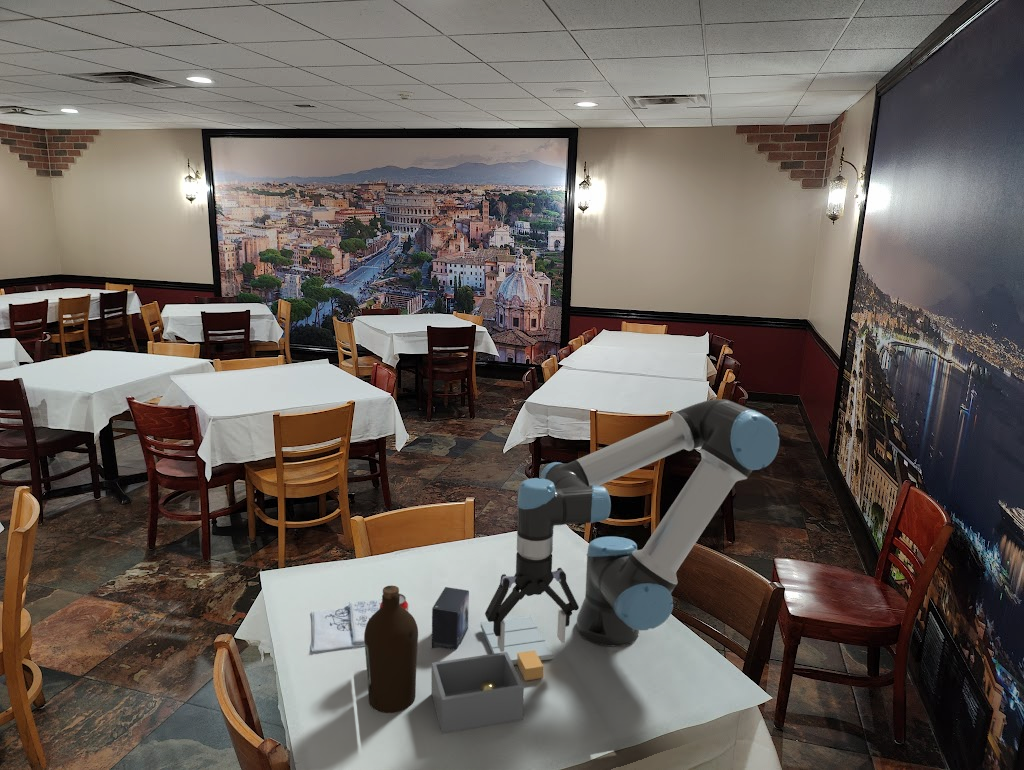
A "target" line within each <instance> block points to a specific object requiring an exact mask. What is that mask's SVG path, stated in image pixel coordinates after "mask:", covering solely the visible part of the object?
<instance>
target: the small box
mask: <svg viewBox="0 0 1024 770" xmlns="http://www.w3.org/2000/svg"><path fill="white" fill-rule="evenodd" d="M469 594H470V591H469V589H468V590H467V589H462V588H461V589H460V588H454V587H448V586H446V587H444V588H443V590H442V592H441V593H440V595H439V596H438V598H437V599H436V601H435V603H434V605H433V606H432V609H431V646H430V647H431V649H438V648H440V649H447V650H455V651H456V650H457V649H458V648H459V646H460V645H461V643H462V642H463V640H464V638H465V636H466V634H467V632H468V630H469V609H470V607H469V606H470V605H469V603H470V601H469V600H470V599H469V598H470V595H469Z"/></svg>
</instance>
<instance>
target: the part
mask: <svg viewBox="0 0 1024 770" xmlns="http://www.w3.org/2000/svg"><path fill="white" fill-rule="evenodd" d="M491 689H496V684H495V682H493V681H490V680H486V681H483V682H482V683H481V691H485V690H491Z"/></svg>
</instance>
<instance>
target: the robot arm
mask: <svg viewBox="0 0 1024 770" xmlns="http://www.w3.org/2000/svg"><path fill="white" fill-rule="evenodd" d="M779 447H780V437H779V430H778V428H777V426H776V424H775V423H774V422H773V420H772V419H770V418H769V417H768V416H766V415H764V414H762V413H761V412H760V411H757V410H755V409H751V408H749V407H746V406H743V405H741V404H739V403H737V402H735V401H732V400H730V399H723V398H715V399H707V400H704V401H702V402H698V403H695V404H692V405H690V406H687V407H684V408H682V409H680V410H677V411H675V412H673V413H671V415H670V418H669V419H667V420H664V421H663V422H661V423H658V424H656V425H654V426H652V427H648V428H647V429H644V430H642V431H640V432H638V433H636V434H632V435H631V436H629V437H628V436H627V437H626V438H623V439H621V440H619V441H617V442H614V443H612V444H610V445H607V446H605V447H603V448H601V449H599V450H596V451H593V452H591V453H589V454H586V455H584V456H582V457H580V458H578V459H577V458H576V459H575V460H573V461H570V462H567V463H562V462H559V461H558V462H557V461H554V462H551V463H549V464H547V465H545V466H544V468H543V469H542V471H541V473H540V477H539V478H538V477H534V478H532V477H531V478H528V479H525V480H523V481H522V482H521V483H520V484H519V486H518V487H519V488H518V492H517V493H518V494H517V500H516V501H517V502H516V503H517V504H516V505H517V533H516V554H515V555H516V556H515V557H516V559H515V560H516V562H515V573H514V575H513V576H511V575H510V576H509V575H508V576H507V575H506V574H505V573H503V574H501V575H500V579H499V580H500V581H499V585H498V586H497V589H496V591H495V593H494V595H493V597H492V599H491V601H490V603H489V604H488V607H487V608H486V611H485V613H484V616H485V617H486V619H487V621H489V622H492V621H493V622H494V627H493V628H494V629H493V631H494V633H495V635H496V636H498V644H497V645H498V647H499V649H500V651H501V652H503V651H504V640H505V623H504V621H503V619H506V617H507V616H508V614H509V613H510V612H511V611H513V610H512V609H514V607H515V606H516V605H517V603H519V601H520V600H522V599H523V598H524V597H525V596H527V597H530V596H534V595H535V596H539V595H542V594H543V593H546V594H547V596H548V597H550V598H551V599H552V600H553V601H554V603H555V604H556V605H557V606H559V608H558V609H557V611H558V612H557V631H556V633H557V634H556V635H557V638H558V640H559V641H560V643H561V644H563V643H566V627H569V626H570V618H571V616H572V614H573V611H578V610H579V612H578V614H577V615H576V616H577V617H576V629H577V632H578V634H580V635H581V637H583V638H584V639H585V640H587V641H589V642H591V643H594V644H596V645H601V646H606V647H620V646H621V647H622V646H625V645H627V644H631V643H632V642H634V641H635V640H636V639H637V638H638V636H639V635H638V634H640V631H648V630H649V629H650V630H651V629H652V630H653V629H655V628H658V627H660V626H661V625H662V624H663V625H664V623H665V622H666V620H668V619H669V618H670V616H671V614H672V612H673V609H674V604H673V602H674V598H673V596H672V592H673V591H674V589H675V587H676V586H677V585H678V578H677V571H678V570H679V568H680V567H681V565H682V564H683V563H684V561H685V559H686V558H687V556H688V555H689V553H690V552H691V550H692V549H693V547H694V546H695V544H696V543H697V542H698V540H699V539H700V536H701V535H702V534H703V532H704V531H705V530H706V527H708V525H709V523H710V522H711V520H712V519H713V517H714V516H715V514H716V513H717V511H718V510H719V508H720V507H721V506H722V504H723V502H724V501H725V500H726V498H727V496H728V495H729V493H730V491H731V490H732V489H733V487H734V486H735V484H736V483H737V482H738V481H739V482H740V481H744V480H747V479H748V478H749V476H750V475H751V473H752V472H753V471H756V470H757V471H759V470H761V469H762V468H767V467H768V466H769V465H770V464H771V463H772V462H773V461H774V460H775V458H776V456H777V454H778V451H779ZM697 448H699V450H700V456H701V460H700V462H699V463H698V465H697V467H696V468H695V470H694V471H693V472H692V474H691V475H690V476H689V479H688V480H687V481H686V483H685V484H684V486H683V488H682V489H681V490H680V492H679V494H678V495H677V497H676V498H675V500H674V501H673V502H672V504H671V506H670V507H669V508H668V510H667V512H666V513H665V515H664V516H663V518H662V519H661V521H659V524H658V525H657V527H655V530H654V531H653V533H652V534H651V536H650V537H649V538H648V540H647V541H646V544H645V545H644V547H643V548H642V549H638V544H637V543H636V542H635V541H634V540H632V539H630V538H625V537H622V536H621V537H620V536H601V537H596V538H594V539H593V540H591V541H590V542H589V544H588V546H587V547H588V548H587V553H586V573H585V574H586V576H585V597H584V599H583V602H582V604H581V607H580V608H579V603H578V602H577V601H576V599H575V596H574V594H573V592H572V590H571V588H570V586H569V584H568V582H567V574H566V573H565V571H564V570H563V568H562V567H558V568H557V569H556V570H555V571H552V569H553V554H552V553H553V549H554V547H553V545H554V544H553V543H554V527H555V526H564V525H576V524H593V523H597V522H603V521H604V522H605V521H606V520H607V519H608V518H609V517H610V515H611V509H612V504H611V503H612V502H611V497H610V494H609V491H608V489H607V488H606V487H605V486H603V485H604V484H607V483H609V482H611V481H613V480H615V479H618V478H620V477H622V476H625V475H627V474H629V473H631V472H634V471H636V470H639V469H640V468H643V467H646V466H648V465H651V464H652V463H655V462H657V461H658V460H661V459H663V458H666V457H668V456H671V455H673V454H676V453H678V452H681V450H686V451H688V452H690V451H693V450H695V449H697ZM554 579H555V580H556V581H557V582H559V585H560V586H561V589H562V590H563V593H564V594H565V597H566V599H567V601H568V602H567V603H566V602H565V601H564V600H563V599H562V597H560V596H559V594H558V593H557V592H556V591H555V590H554V589H553V588H552V586H550V585H551V583H552V582H553V580H554ZM513 584H515V586H513V588H512V585H513ZM510 588H512V591H510V593H509V594H508V592H509V589H510ZM507 594H508V596H507ZM506 596H507V597H506Z"/></svg>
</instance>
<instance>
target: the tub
mask: <svg viewBox="0 0 1024 770" xmlns="http://www.w3.org/2000/svg"><path fill="white" fill-rule="evenodd" d="M486 680H490V681H493V682H495V684H496V689H491V690H485V691H481V683H482V682H483V681H486ZM524 691H525V689H524V684H523V683H522V680H521V678H520V676H519V674H518V672H517V670H516V668H515V666H514V665H513V663H512V661H511V659H510V657H509V655H508V653H507V652H502V653H496V654H492V653H491V654H483V655H477V656H476V655H475V656H471V657H469V656H468V657H464V658H463V657H462V658H454V659H449V660H441V661H436V662H431V698H432V701H433V704H434V705H433V706H434V709H435V712H436V715H437V719H438V723H439V727H440V731H441V734H449V733H455V732H460V731H467V730H471V729H477V728H482V727H488V726H496V725H499V724H506V723H511V722H512V723H513V722H516V721H517V722H518V721H523V718H524V694H525V692H524Z"/></svg>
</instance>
